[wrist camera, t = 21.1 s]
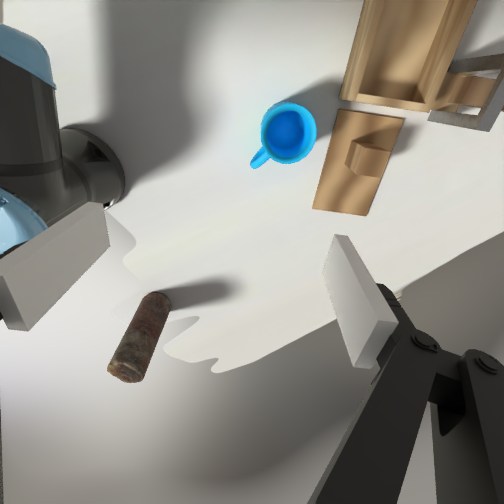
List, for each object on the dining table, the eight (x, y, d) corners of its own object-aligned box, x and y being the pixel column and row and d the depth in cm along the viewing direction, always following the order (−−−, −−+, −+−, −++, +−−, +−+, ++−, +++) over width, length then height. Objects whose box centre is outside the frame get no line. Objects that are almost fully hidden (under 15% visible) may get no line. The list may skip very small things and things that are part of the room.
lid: (311, 206, 53) (318, 224, 47) (337, 109, 44) (351, 112, 37) (364, 214, 54) (379, 232, 47) (401, 119, 45) (426, 124, 38)
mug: (286, 89, 43) (292, 89, 36) (318, 128, 45) (328, 135, 39) (235, 144, 47) (231, 154, 40) (266, 177, 50) (267, 191, 43)
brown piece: (176, 312, 69) (148, 384, 52) (149, 315, 70) (114, 387, 53) (166, 289, 65) (132, 360, 48) (138, 293, 66) (96, 364, 49)
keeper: (427, 120, 44) (475, 129, 34) (453, 60, 40) (517, 51, 30) (437, 122, 44) (489, 131, 34) (464, 62, 40) (532, 54, 30)
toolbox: (338, 98, 43) (348, 100, 38) (381, -64, 34) (402, -91, 28) (449, 116, 44) (474, 119, 39) (522, -37, 34) (567, -59, 29)
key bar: (447, 102, 37) (461, 103, 34) (459, 76, 35) (474, 76, 33) (528, 115, 37) (548, 117, 35) (543, 90, 36) (565, 91, 33)
